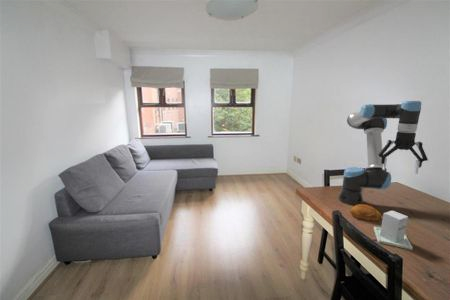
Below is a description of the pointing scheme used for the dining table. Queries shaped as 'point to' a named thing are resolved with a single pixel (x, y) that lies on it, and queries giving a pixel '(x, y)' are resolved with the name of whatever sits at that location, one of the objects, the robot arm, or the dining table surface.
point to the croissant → (365, 212)
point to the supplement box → (393, 226)
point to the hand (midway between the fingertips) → (399, 171)
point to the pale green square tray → (401, 244)
